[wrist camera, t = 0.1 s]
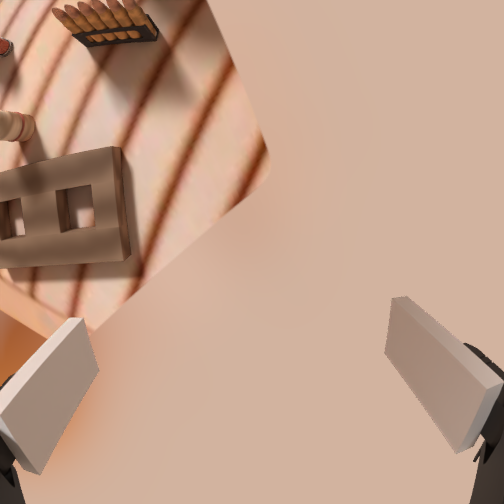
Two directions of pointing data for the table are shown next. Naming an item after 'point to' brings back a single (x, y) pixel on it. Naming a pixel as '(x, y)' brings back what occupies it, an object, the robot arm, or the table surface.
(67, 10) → the ammunition clip
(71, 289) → the table surface
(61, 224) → the walnut board
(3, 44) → the lighter
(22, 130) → the birch dowel
